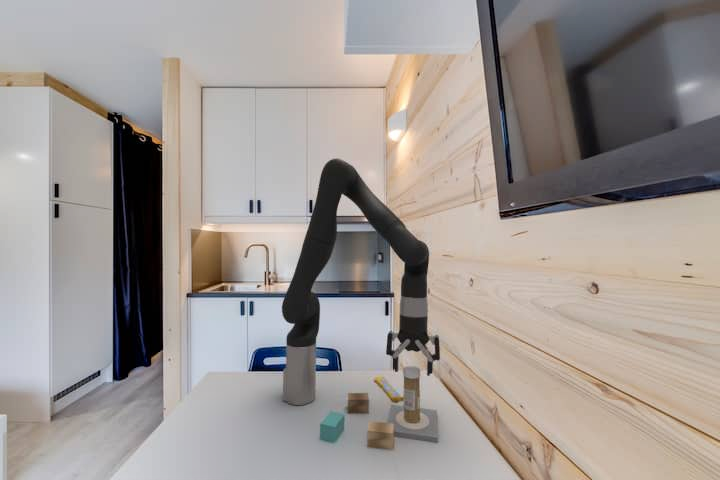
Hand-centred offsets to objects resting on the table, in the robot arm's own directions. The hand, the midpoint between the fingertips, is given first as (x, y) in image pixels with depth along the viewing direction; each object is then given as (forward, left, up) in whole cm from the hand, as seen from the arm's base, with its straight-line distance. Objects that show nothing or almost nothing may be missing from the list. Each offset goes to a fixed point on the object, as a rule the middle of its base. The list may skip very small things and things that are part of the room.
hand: (412, 372), depth 82 cm
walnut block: (-16, +3, -14) cm, 21 cm away
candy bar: (-9, +18, -14) cm, 25 cm away
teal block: (-19, -10, -14) cm, 26 cm away
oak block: (-7, -10, -14) cm, 18 cm away
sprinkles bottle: (0, 0, -13) cm, 13 cm away
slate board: (0, 0, -14) cm, 14 cm away
